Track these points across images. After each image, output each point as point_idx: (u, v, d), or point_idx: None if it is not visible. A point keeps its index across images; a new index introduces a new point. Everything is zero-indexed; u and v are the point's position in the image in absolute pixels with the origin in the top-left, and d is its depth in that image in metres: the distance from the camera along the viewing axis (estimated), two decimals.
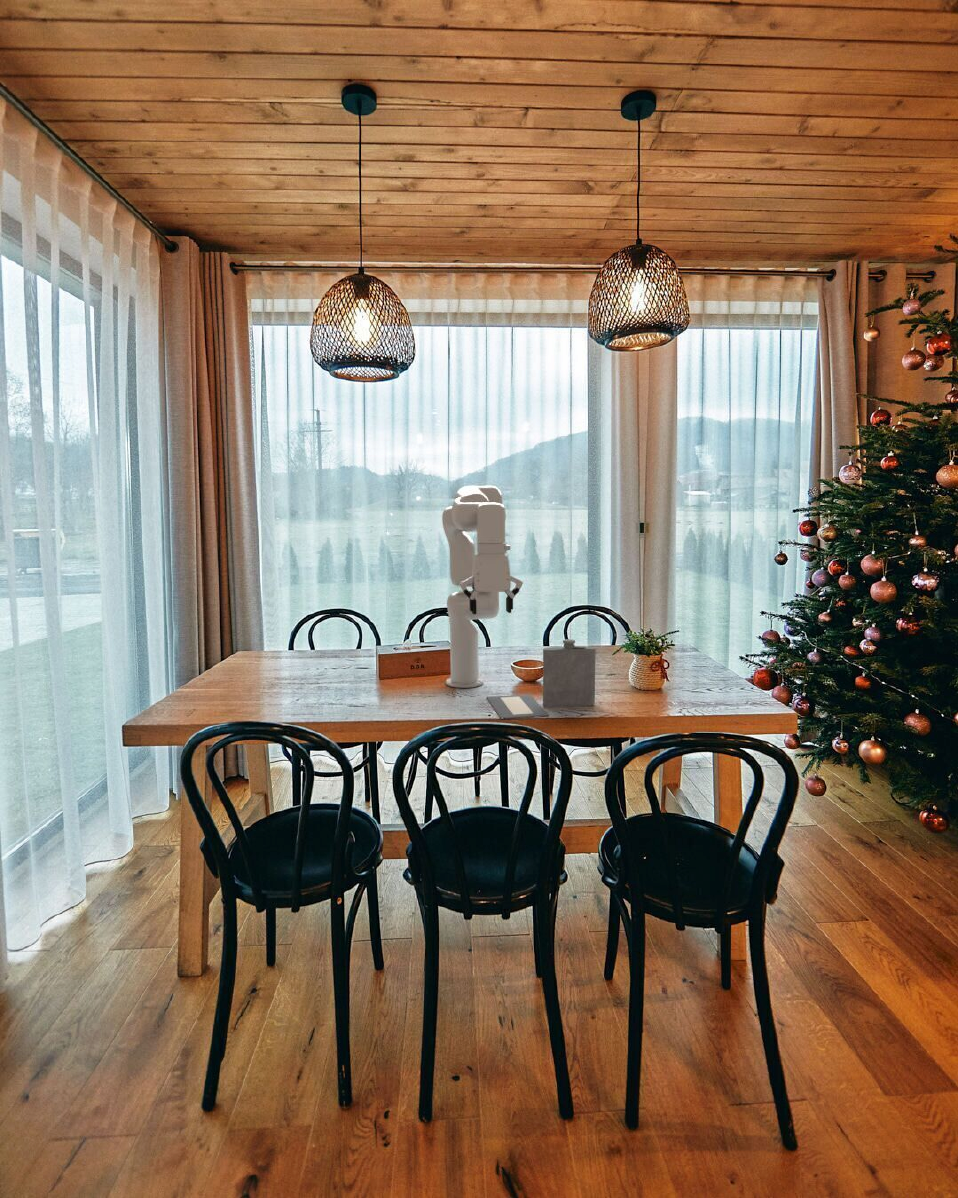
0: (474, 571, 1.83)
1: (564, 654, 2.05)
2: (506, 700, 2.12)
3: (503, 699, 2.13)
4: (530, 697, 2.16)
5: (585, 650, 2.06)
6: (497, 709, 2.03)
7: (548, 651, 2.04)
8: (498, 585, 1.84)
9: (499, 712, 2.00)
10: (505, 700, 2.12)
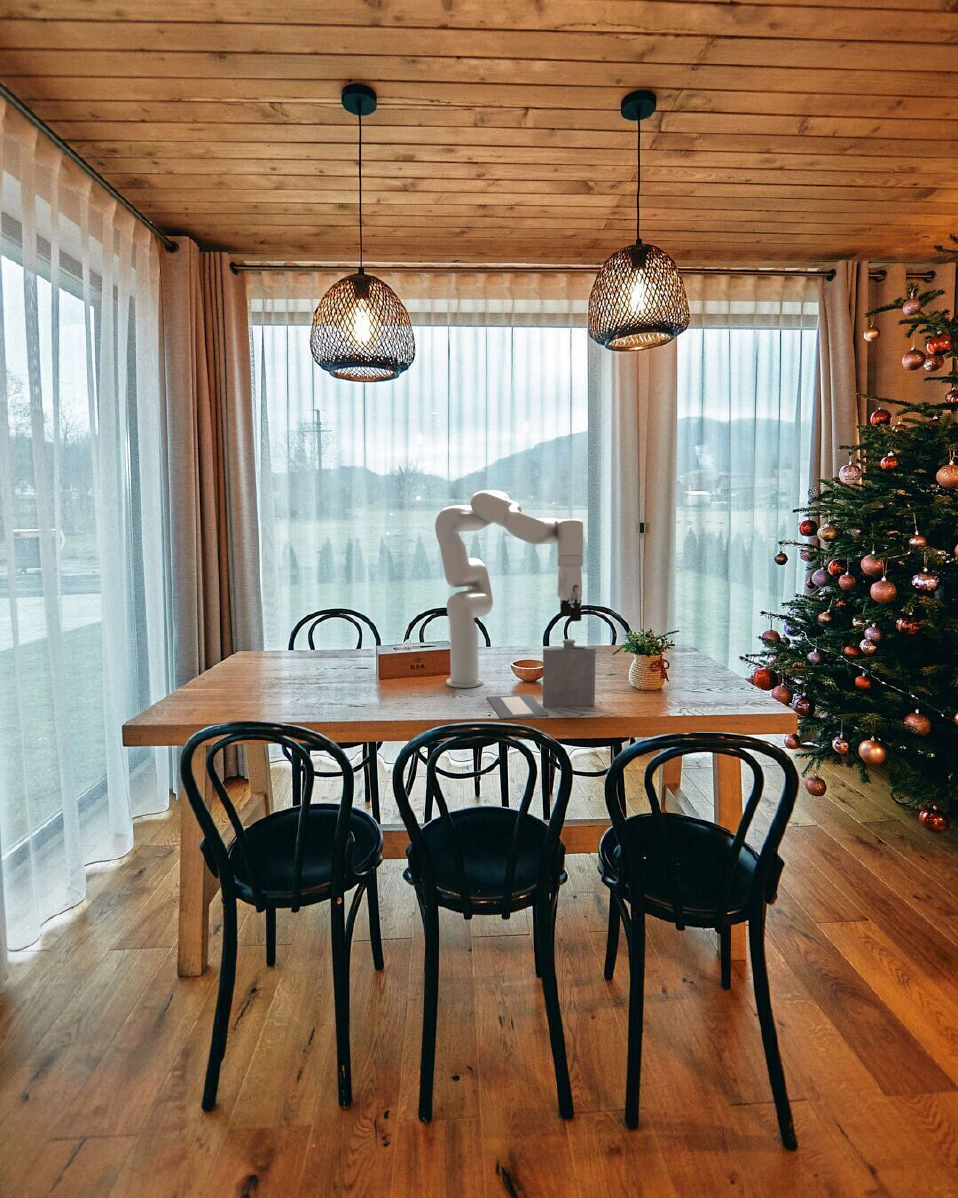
0: (579, 581, 1.99)
1: (564, 654, 2.05)
2: (506, 700, 2.12)
3: (503, 699, 2.13)
4: (530, 697, 2.16)
5: (585, 650, 2.06)
6: (497, 709, 2.03)
7: (548, 651, 2.04)
8: None
9: (499, 712, 2.00)
10: (505, 700, 2.12)
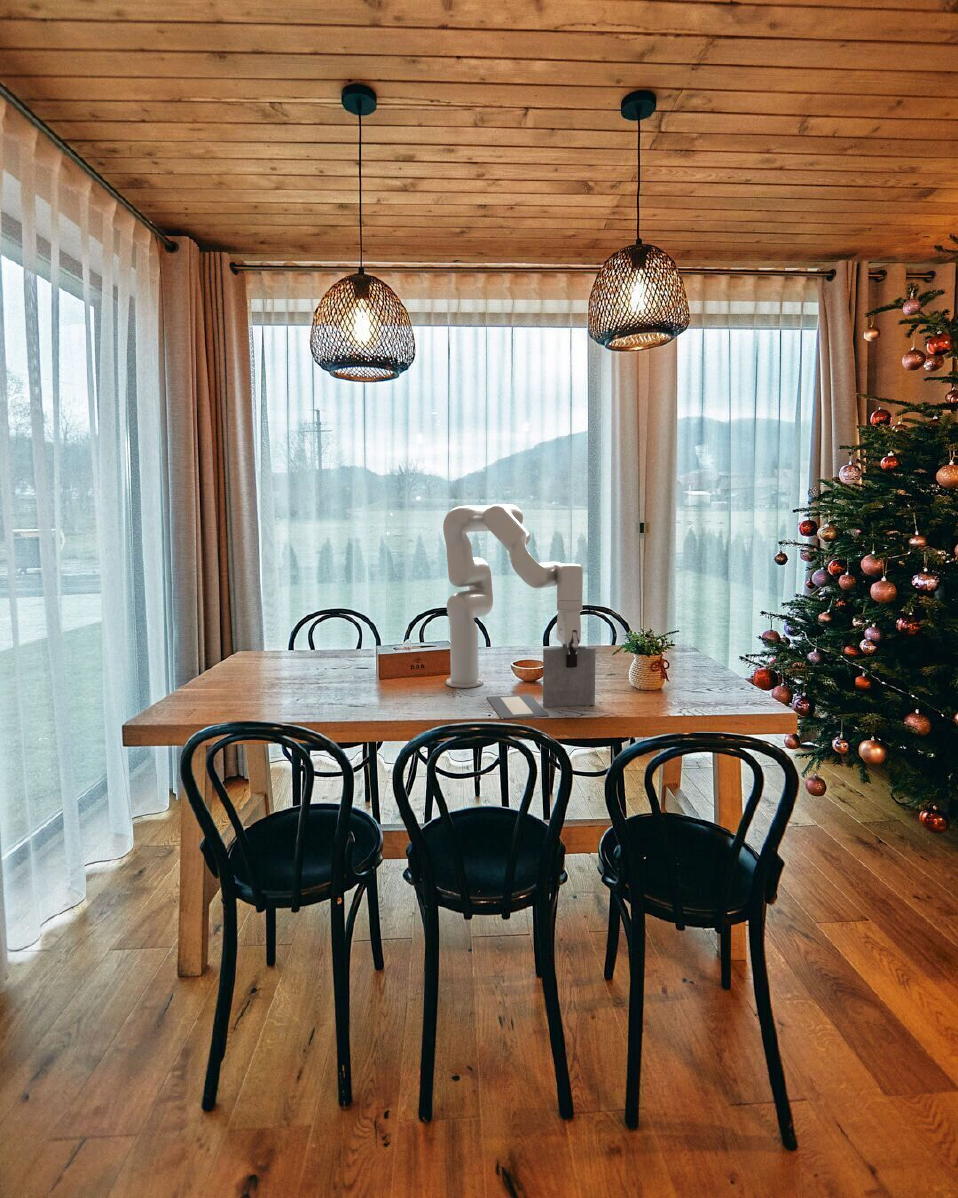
0: (578, 626, 2.01)
1: (564, 654, 2.05)
2: (506, 700, 2.12)
3: (503, 699, 2.13)
4: (530, 697, 2.16)
5: (585, 650, 2.06)
6: (497, 709, 2.03)
7: (548, 651, 2.04)
8: None
9: (499, 712, 2.00)
10: (505, 700, 2.12)
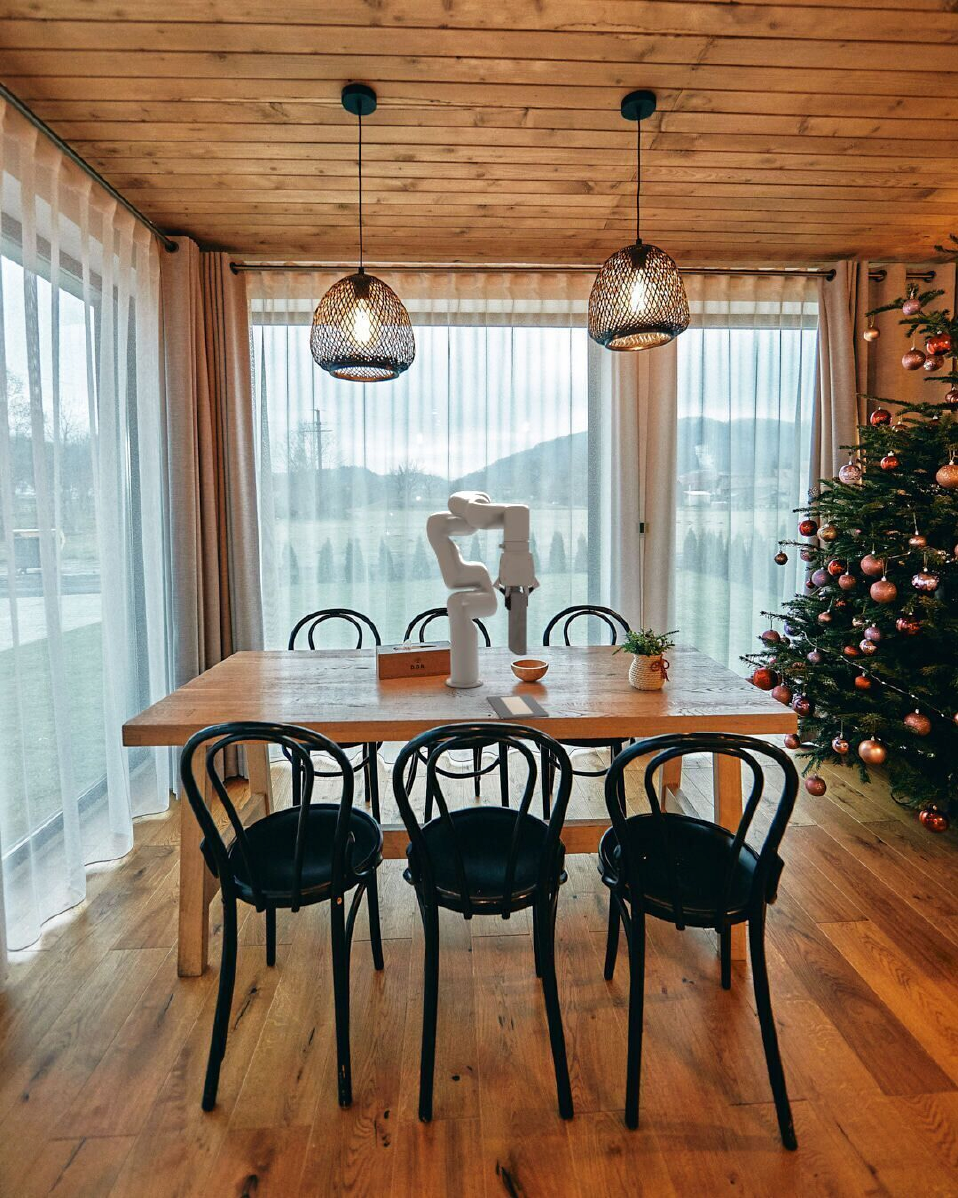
0: None
1: None
2: (506, 700, 2.12)
3: (503, 699, 2.13)
4: (530, 697, 2.16)
5: None
6: (497, 709, 2.03)
7: (526, 595, 1.96)
8: None
9: (499, 712, 2.00)
10: (505, 700, 2.12)
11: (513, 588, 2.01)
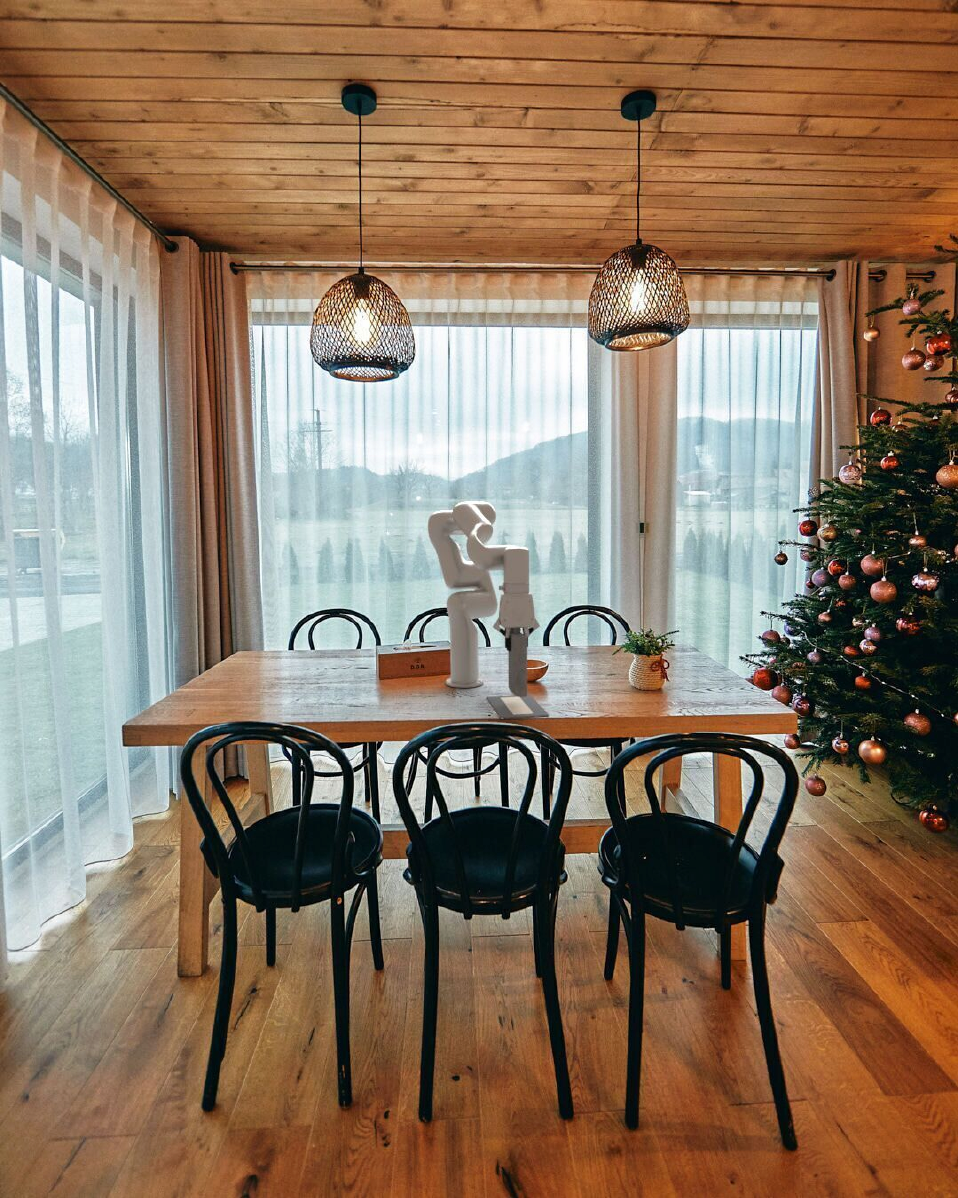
0: None
1: None
2: (506, 700, 2.12)
3: (503, 699, 2.13)
4: (530, 697, 2.16)
5: None
6: (497, 709, 2.03)
7: None
8: None
9: (499, 712, 2.00)
10: (505, 700, 2.12)
11: (513, 629, 2.03)
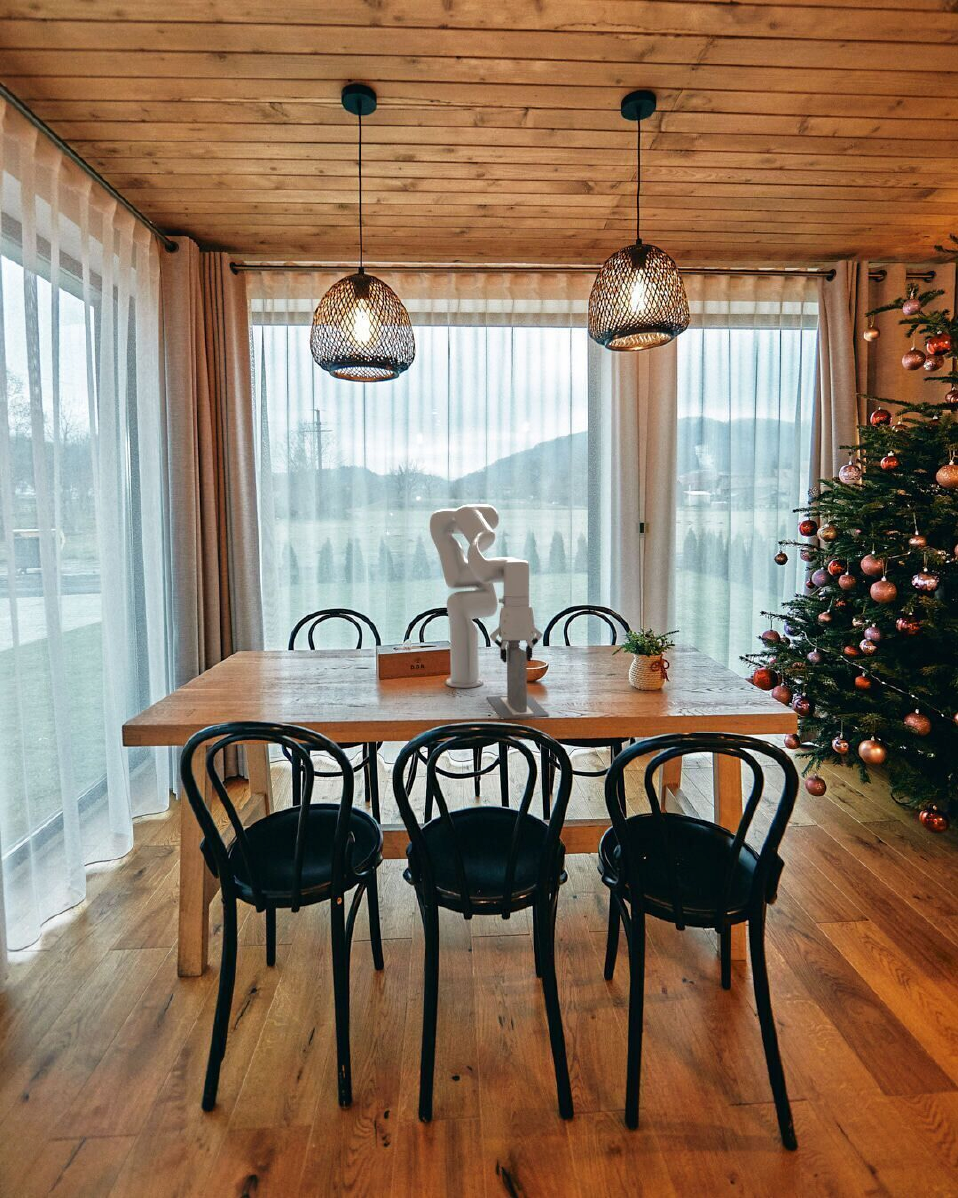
0: None
1: None
2: (506, 700, 2.12)
3: (503, 699, 2.13)
4: (530, 697, 2.16)
5: None
6: (497, 709, 2.03)
7: (526, 653, 1.99)
8: None
9: (499, 712, 2.00)
10: (505, 700, 2.12)
11: (512, 645, 2.03)
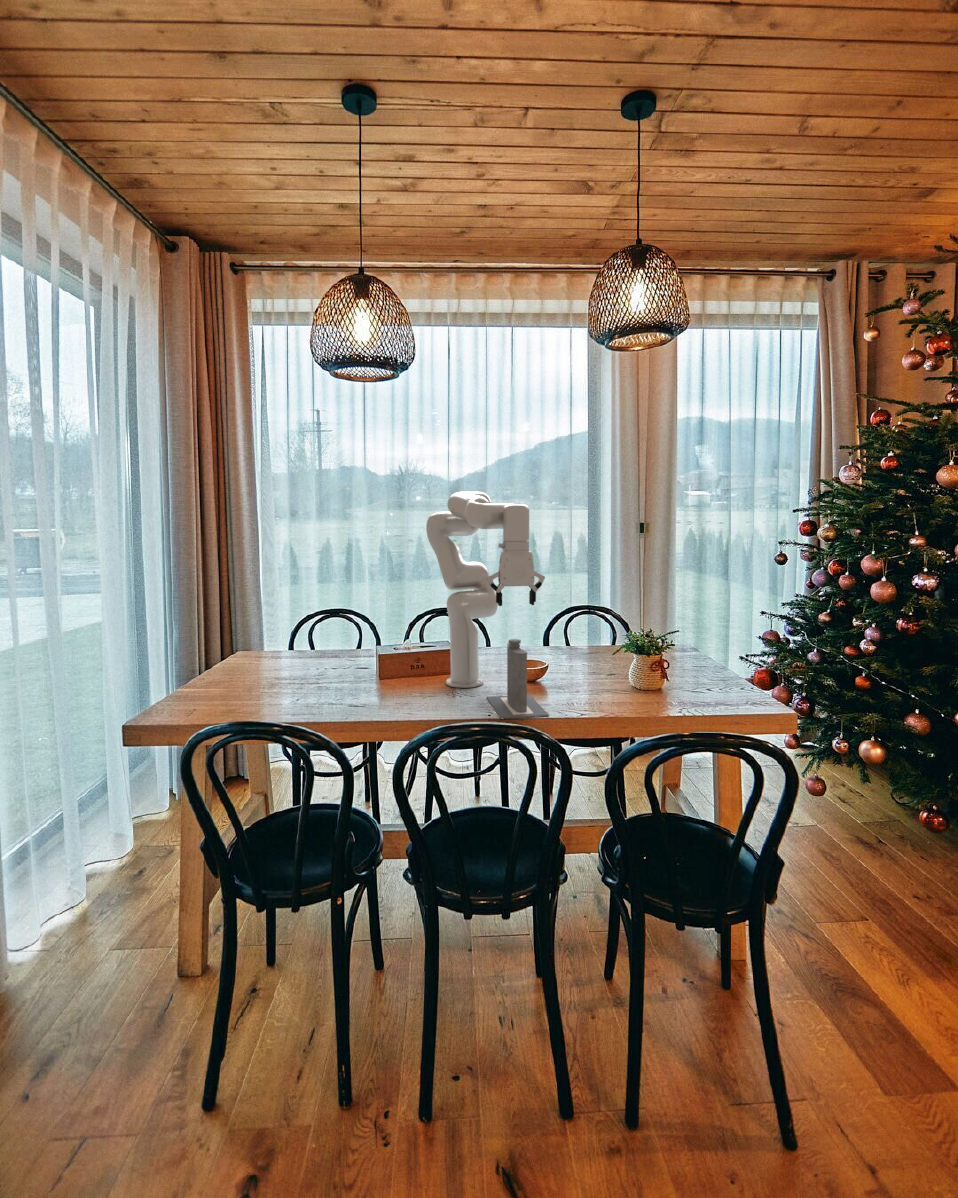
0: None
1: None
2: (506, 700, 2.12)
3: (503, 699, 2.13)
4: (530, 697, 2.16)
5: None
6: (497, 709, 2.03)
7: (526, 653, 1.99)
8: None
9: (499, 712, 2.00)
10: (505, 700, 2.12)
11: (513, 645, 2.03)
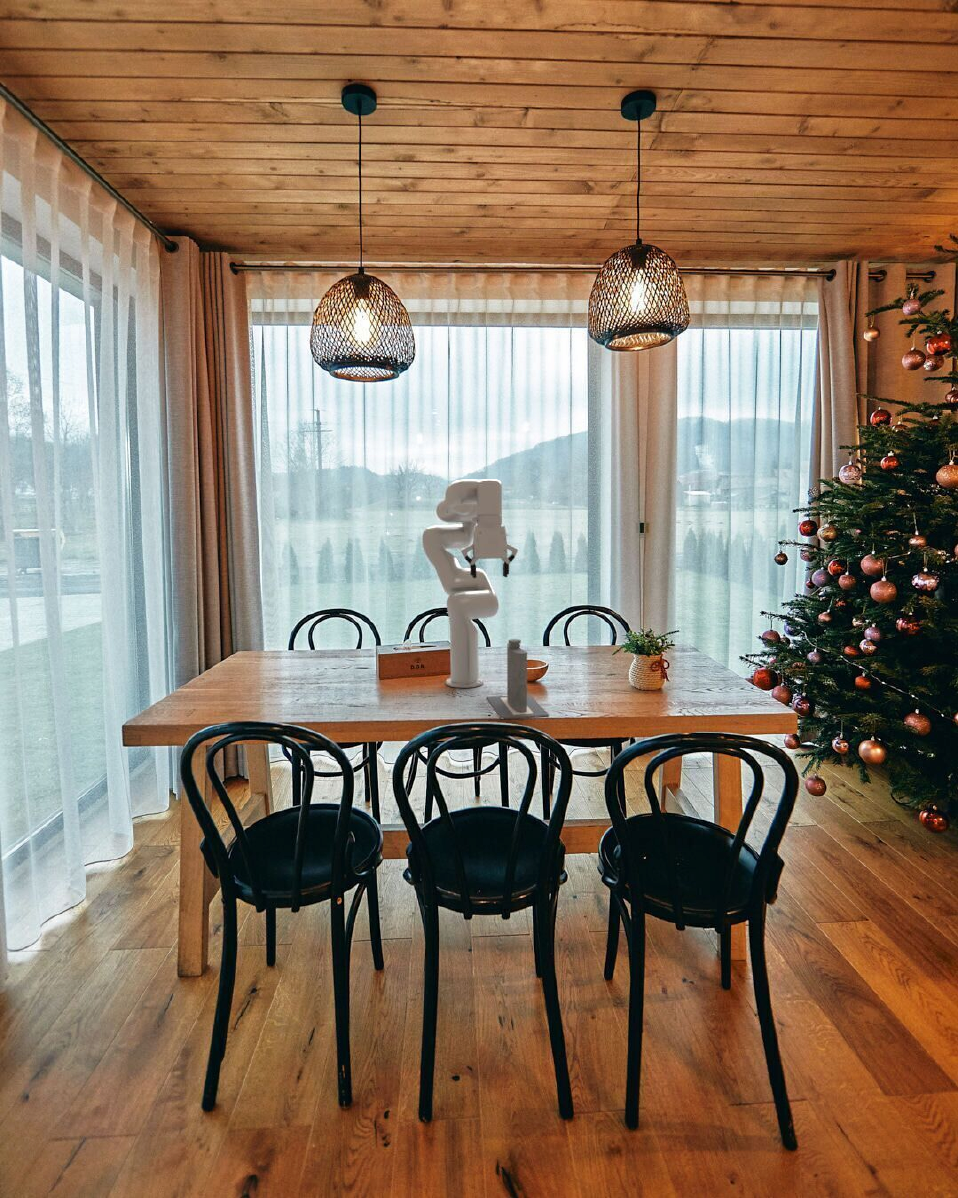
0: None
1: None
2: (506, 700, 2.12)
3: (503, 699, 2.13)
4: (530, 697, 2.16)
5: None
6: (497, 709, 2.03)
7: (526, 653, 1.99)
8: None
9: (499, 712, 2.00)
10: (505, 700, 2.12)
11: (513, 645, 2.03)
